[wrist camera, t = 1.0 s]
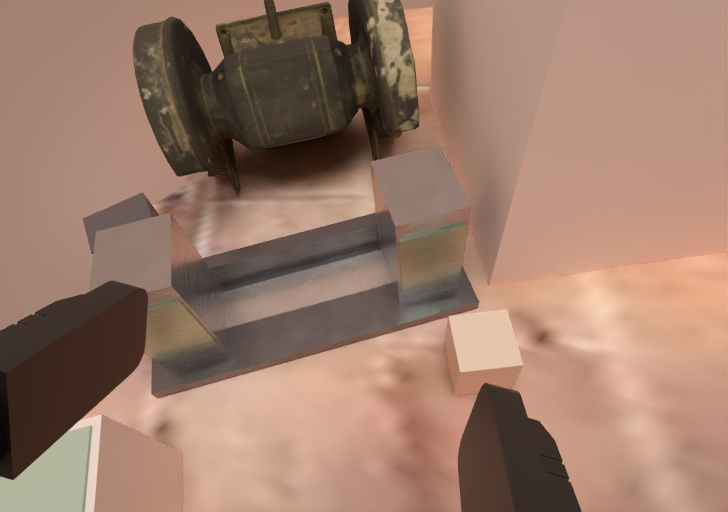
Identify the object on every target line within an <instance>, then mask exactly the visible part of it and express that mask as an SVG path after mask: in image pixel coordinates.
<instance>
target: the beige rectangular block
mask: <svg viewBox="0 0 728 512" xmlns="http://www.w3.org/2000/svg"><path fill="white" fill-rule="evenodd" d="M445 350H446V355H447V360H448V365H449V370H450V375H451V380H452V385H453V390H454V396H459V395H468V394H477V393H479V391H480V389H481V387H482V385H483V384H484V383H489V384H492V385H496V386H500V387H503V388H507V389H511V387H512V385H513V383H514V381H515V380H516V378H517V376H518V374H519V372H520V371H521V369H522V367H523V362H522V359H521V355H520V352H519V348H518V345H517V342H516V338H515V335H514V332H513V328H512V325H511V321H510V318H509V315H508V311H507V309H504V310H495V311H486V312H478V313H469V314H461V315H452V316H448V323H447V330H446V337H445Z"/></svg>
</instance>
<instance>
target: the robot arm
mask: <svg viewBox="0 0 728 512" xmlns="http://www.w3.org/2000/svg"><path fill="white" fill-rule="evenodd" d="M147 310H148V294H147V292H146V290H145V289H143V288H139V287H136V286H132V285H128V284H124V283H121V282H117V281H108V282H106V283H104V284H103V285H101V286H99V287H97V288H95V289H94V290H92V291H90V292H88V293H86V294H84V295H83V294H82V295H78V296H74V297H70V298H67V299H63V300H59V301H56V302H54V303H52V304H50V305H48V306H46V307H44V308H42V309H41V310H39V311H37V312H35V314H34V315H29V316H28V317H25V318H24V319H22V320H20V321H18V323H17V324H16V325H14V324H12V325H10V326H9V327H7V328H5V329H3V330H1V331H0V477H4V478H7V479H10V480H14V479H15V478H17V477H18V476H19V475H20V474H21V473H22V472H23V471H24V470H25V469H26V468H28V467H29V466H30V465H31V464H32V463H33V462H34V461H35V460H36V459H38V458H39V457H40V456H41V455H42V454H43V453H44V452H45V451H46V450H47V449H49V448H50V447H51V446H52V445H53V444H54V443H55V442H56V441H57V440H58V439H60V438H61V437H62V436H63V435H64V434H65V433H66V432H67V431H68V430H70V429H71V428H72V427H73V426H74V425H75V424H76V423H77V422H78V421H79V420H81V419H82V418H83V417H84V416H85V415H86V414H87V413H88V412H89V411H90V410H92V409H93V408H94V407H95V406H96V405H97V404H98V403H99V402H100V401H102V400H103V399H104V398H105V397H106V396H107V395H108V394H109V393H110V392H111V391H113V390H114V389H115V388H116V387H117V386H118V385H119V384H120V383H121V382H122V381H124V380H125V379H126V378H127V377H128V376H129V375H130V374H131V373H132V372H133V371H134V370H135V369H136V368H137V366H138V365H139V363H140V361H141V359H142V356H143V354H144V350H145V343H146V327H147ZM458 473H459V485H460V497H461V510H462V512H581V509H580V506H579V504H578V501H577V498H576V495H575V493H574V490H573V487H572V485H571V482H569V481H568V480H569V477H568V474H567V471H566V469H565V466H564V465H563V464H562V458H561V455H560V453H559V450H558V447H557V445H556V442H555V440H554V439H553V438H552V436H551V435H550V434H549V433H548V431H547V430H546V429H545V428H544V426H543V425H542V424H541V423H540V422H539V421H537V420H534V419H530V418H528V417H527V414H526V410H525V407H524V404H523V401H522V398H521V395H520V393H519V392H518V391H514V390H511V389H507V388H503V387H500V386H496V385H492V384H489V383H484V384H483V385H482V387H481V389H480V391H479V393H478V396H477V399H476V401H475V404H474V406H473V409H472V412H471V414H470V417H469V420H468V422H467V425H466V428H465V430H464V433H463V436H462V439H461V443H460V447H459V454H458Z"/></svg>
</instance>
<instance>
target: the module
mask: <svg viewBox="0 0 728 512" xmlns="http://www.w3.org/2000/svg"><path fill="white" fill-rule="evenodd" d="M0 512H183V479H182V452H180V451H178V450H176V449H174V448H172V447H170V446H168V445H166V444H163V443H161V442H159V441H157V440H155V439H153V438H151V437H149V436H146V435H144V434H142V433H140V432H138V431H136V430H134V429H132V428H129V427H127V426H125V425H123V424H121V423H119V422H117V421H115V420H112V419H110V418H108V417H106V416H104V415H98V416H94V417H91V418H87V419H84V420H80V421H78V422H77V423H76V424H75V425H74V426H73V427H72V428H71V429H70V430H68V431H67V432H66V433H65V434H64V435H63V436H62V437H61V438H60V439H58V440H57V441H56V442H55V443H54V444H53V445H52V446H51V447H50V448H49V449H47V450H46V451H45V452H44V453H43V454H42V455H41V456H40V457H39V458H38V459H36V460H35V461H34V462H33V463H32V464H31V465H30V466H29V467H28V468H26V469H25V470H24V471H23V472H22V473H21V474H20V475H19V476H18V477H17V478H15V479H14V480H10V479H7V478H4V477H0Z"/></svg>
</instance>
